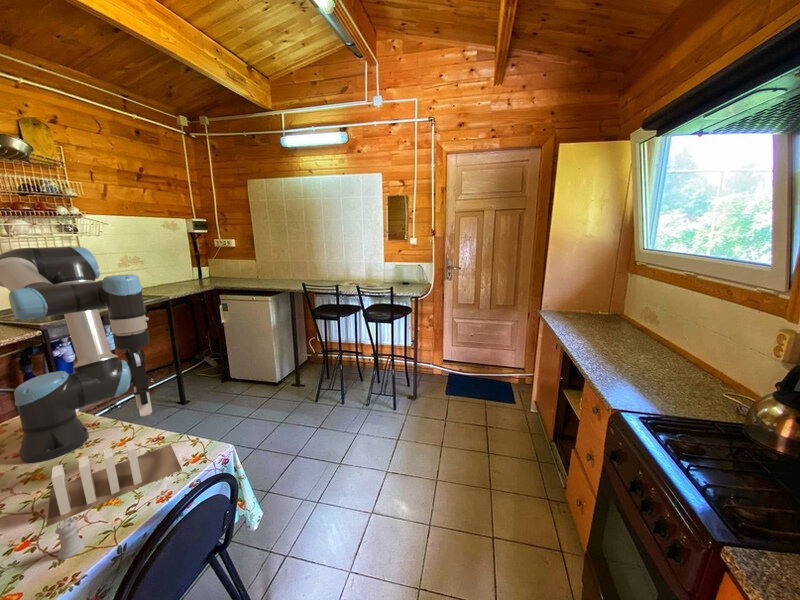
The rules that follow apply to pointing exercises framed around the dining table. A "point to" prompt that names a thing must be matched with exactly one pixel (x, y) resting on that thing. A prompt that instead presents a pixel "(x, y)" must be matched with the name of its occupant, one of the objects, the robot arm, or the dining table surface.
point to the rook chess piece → (69, 539)
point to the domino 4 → (133, 462)
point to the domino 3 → (111, 470)
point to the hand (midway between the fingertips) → (144, 409)
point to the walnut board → (150, 469)
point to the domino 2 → (87, 480)
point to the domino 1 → (61, 489)
